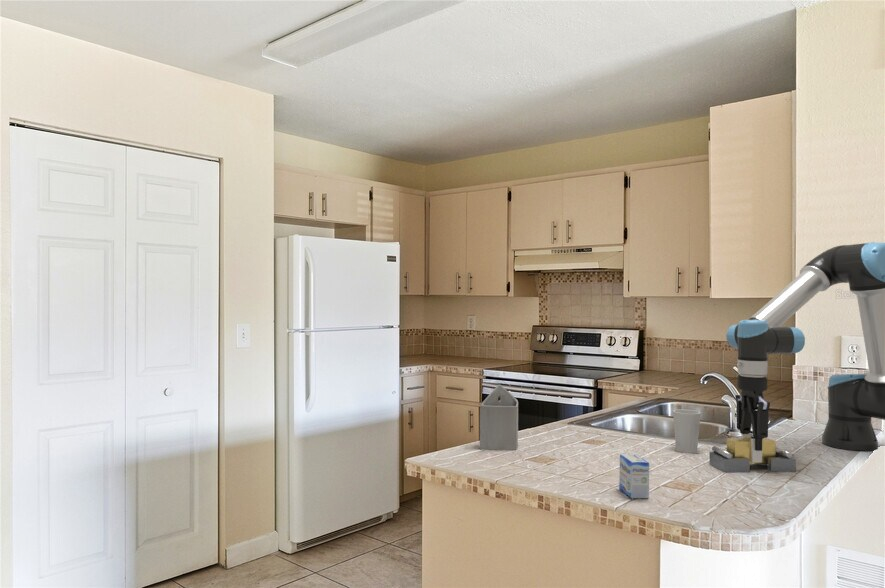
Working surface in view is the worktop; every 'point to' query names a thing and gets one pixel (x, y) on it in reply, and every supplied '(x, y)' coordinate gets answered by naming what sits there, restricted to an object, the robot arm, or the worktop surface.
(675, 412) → the cup
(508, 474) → the worktop surface
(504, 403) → the planter
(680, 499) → the worktop surface
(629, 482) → the medicine box
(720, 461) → the chain end
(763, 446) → the gold rectangular block
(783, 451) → the bracket
